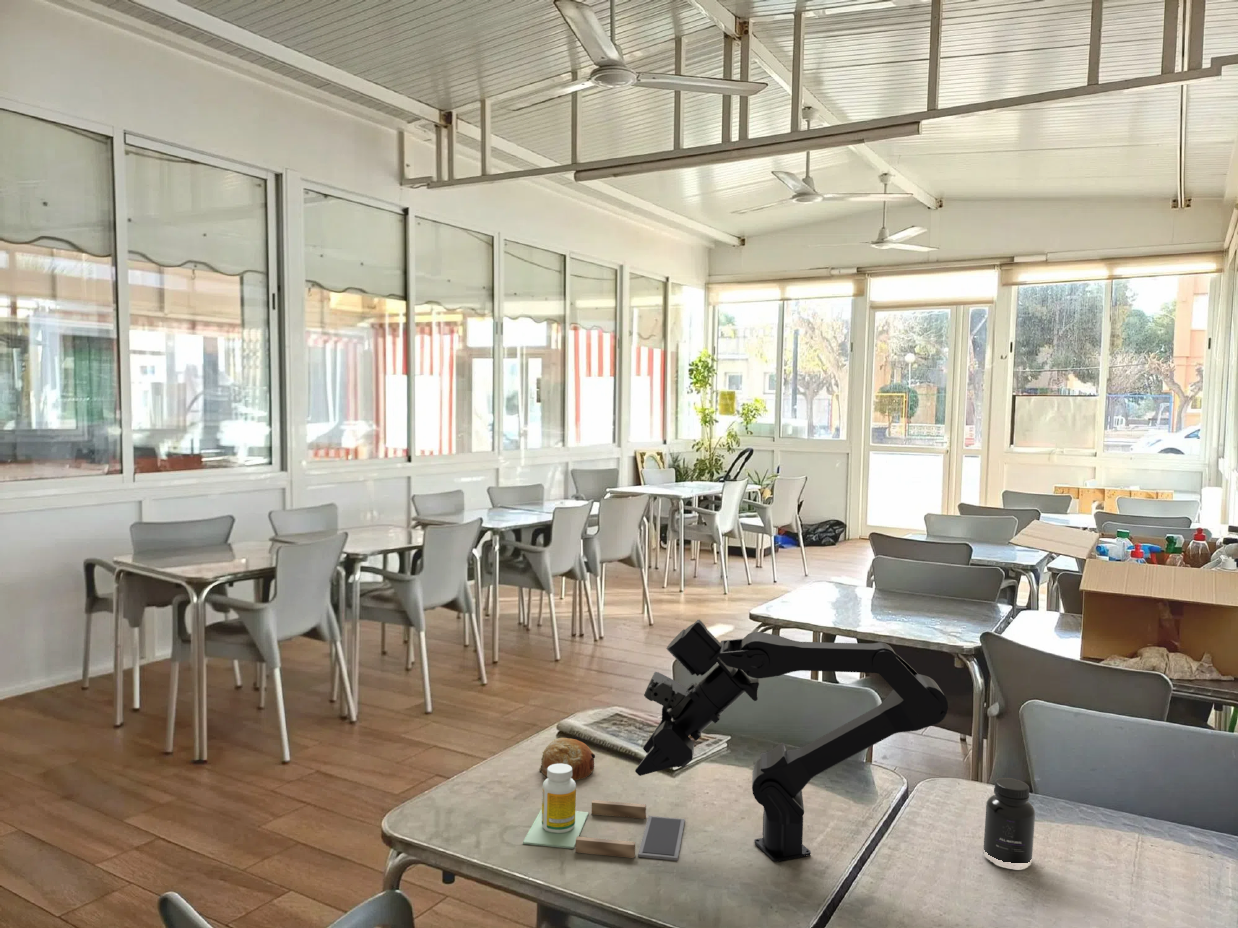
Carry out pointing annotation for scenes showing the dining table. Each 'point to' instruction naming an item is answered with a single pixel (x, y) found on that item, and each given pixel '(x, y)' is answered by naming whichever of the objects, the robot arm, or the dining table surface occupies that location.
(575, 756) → the bread roll
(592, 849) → the walnut channel
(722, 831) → the dining table surface
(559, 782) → the supplement bottle
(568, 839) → the pad
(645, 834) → the pit rectangle
